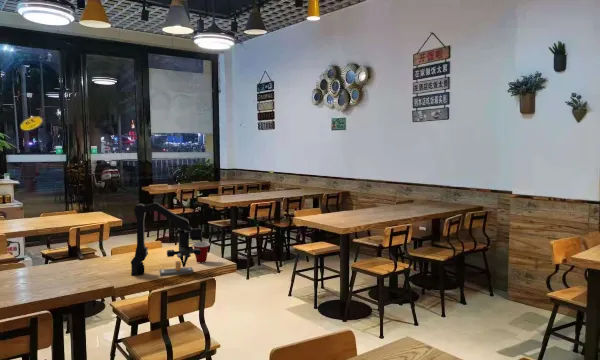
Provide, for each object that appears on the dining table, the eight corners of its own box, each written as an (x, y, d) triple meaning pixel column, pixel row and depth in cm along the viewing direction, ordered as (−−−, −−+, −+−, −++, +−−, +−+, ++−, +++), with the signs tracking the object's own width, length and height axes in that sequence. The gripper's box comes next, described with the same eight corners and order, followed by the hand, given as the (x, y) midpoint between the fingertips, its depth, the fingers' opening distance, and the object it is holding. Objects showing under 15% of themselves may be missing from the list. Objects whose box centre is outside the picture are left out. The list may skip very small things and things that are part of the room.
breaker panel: (160, 275, 248) (160, 273, 248) (159, 272, 255) (159, 269, 255) (193, 273, 254) (193, 270, 254) (191, 269, 262) (191, 266, 262)
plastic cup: (194, 265, 272) (193, 245, 272) (191, 261, 282) (191, 242, 282) (211, 263, 276) (211, 244, 276) (208, 259, 286) (208, 241, 286)
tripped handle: (176, 270, 253) (176, 262, 252) (175, 268, 256) (175, 261, 256) (180, 270, 254) (180, 262, 253) (179, 268, 257) (179, 260, 257)
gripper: (167, 244, 244) (168, 272, 245) (202, 242, 251) (202, 269, 252) (166, 240, 255) (166, 267, 256) (199, 238, 261) (199, 264, 262)
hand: (183, 267), depth 256 cm, fingers closed
